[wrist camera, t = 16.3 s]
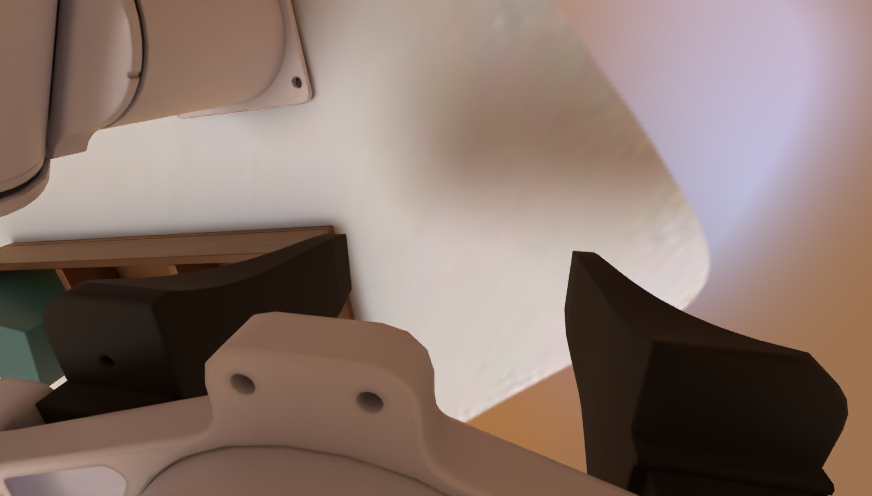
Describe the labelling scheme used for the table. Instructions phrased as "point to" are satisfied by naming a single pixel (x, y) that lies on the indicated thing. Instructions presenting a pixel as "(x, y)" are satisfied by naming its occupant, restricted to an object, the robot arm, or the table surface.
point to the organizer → (151, 254)
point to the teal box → (27, 325)
